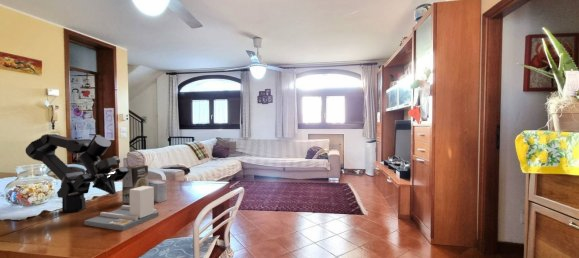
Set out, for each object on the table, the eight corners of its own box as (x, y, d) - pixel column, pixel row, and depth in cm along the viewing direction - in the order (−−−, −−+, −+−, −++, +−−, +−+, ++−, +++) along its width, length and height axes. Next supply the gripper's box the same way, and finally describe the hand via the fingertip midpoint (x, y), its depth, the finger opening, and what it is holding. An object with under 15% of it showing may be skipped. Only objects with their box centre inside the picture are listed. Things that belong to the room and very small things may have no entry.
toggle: (127, 216, 93) (127, 189, 93) (141, 211, 99) (141, 185, 99) (140, 218, 92) (140, 190, 92) (153, 212, 97) (153, 186, 97)
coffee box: (133, 203, 115) (133, 168, 115) (121, 202, 116) (121, 167, 116) (148, 198, 124) (148, 165, 124) (137, 197, 125) (137, 164, 125)
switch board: (84, 224, 90) (84, 217, 90) (123, 211, 104) (123, 204, 104) (123, 230, 85) (123, 222, 85) (158, 215, 99) (158, 209, 99)
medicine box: (166, 200, 120) (166, 182, 120) (157, 202, 116) (157, 184, 116) (157, 198, 124) (157, 180, 124) (148, 200, 121) (148, 181, 121)
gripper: (78, 152, 92) (101, 185, 89) (125, 148, 110) (145, 175, 106) (63, 173, 94) (84, 205, 91) (111, 165, 112) (131, 192, 109)
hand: (114, 193), depth 99 cm, fingers closed
